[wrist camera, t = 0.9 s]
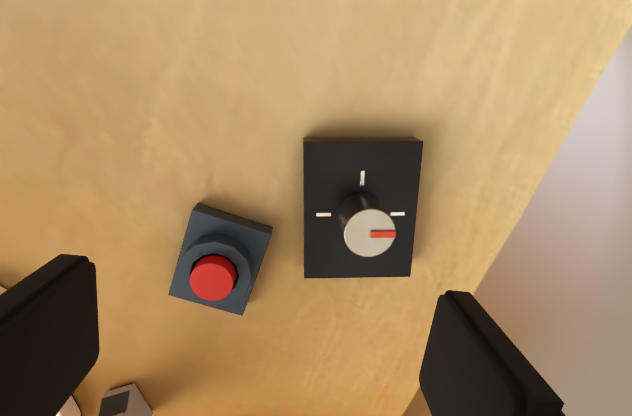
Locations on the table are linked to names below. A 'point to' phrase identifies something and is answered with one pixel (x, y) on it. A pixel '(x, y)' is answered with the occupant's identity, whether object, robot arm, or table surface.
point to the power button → (213, 278)
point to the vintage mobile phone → (124, 402)
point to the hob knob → (366, 225)
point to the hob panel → (354, 177)
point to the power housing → (221, 254)
